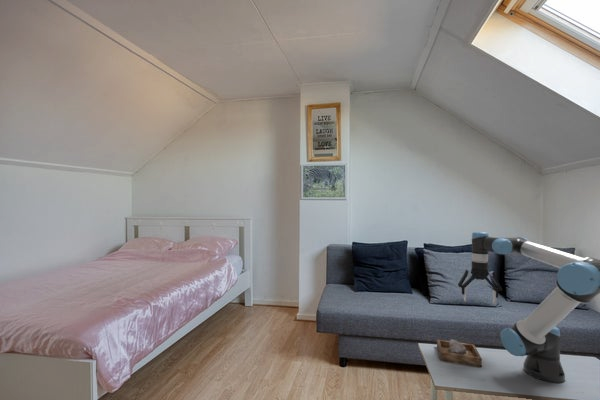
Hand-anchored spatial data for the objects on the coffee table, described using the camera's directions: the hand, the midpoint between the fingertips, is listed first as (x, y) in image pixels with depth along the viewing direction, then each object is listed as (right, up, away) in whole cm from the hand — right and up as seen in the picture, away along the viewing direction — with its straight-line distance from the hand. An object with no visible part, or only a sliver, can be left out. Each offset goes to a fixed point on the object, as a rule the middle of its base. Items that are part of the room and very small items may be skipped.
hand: (479, 302), depth 164 cm
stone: (-14, -26, -3) cm, 29 cm away
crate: (-13, -26, -4) cm, 30 cm away
